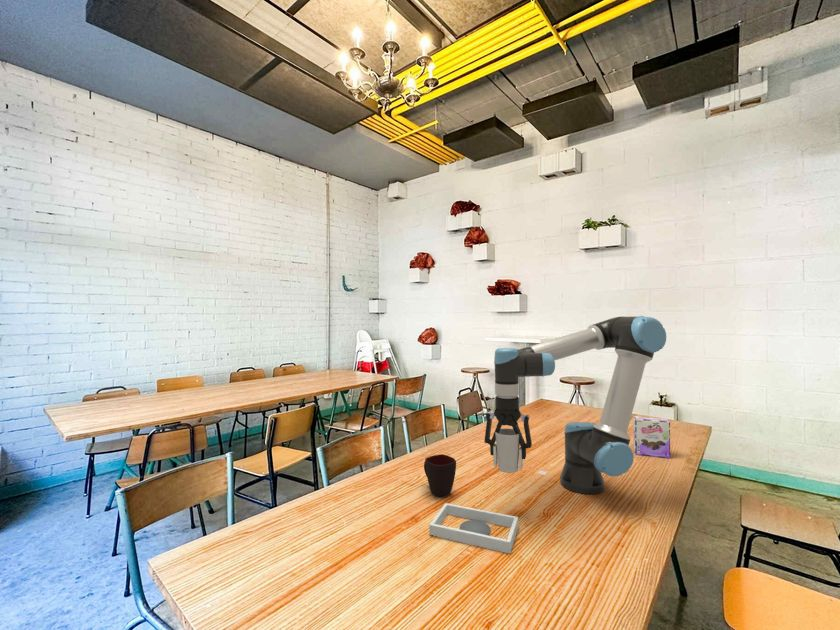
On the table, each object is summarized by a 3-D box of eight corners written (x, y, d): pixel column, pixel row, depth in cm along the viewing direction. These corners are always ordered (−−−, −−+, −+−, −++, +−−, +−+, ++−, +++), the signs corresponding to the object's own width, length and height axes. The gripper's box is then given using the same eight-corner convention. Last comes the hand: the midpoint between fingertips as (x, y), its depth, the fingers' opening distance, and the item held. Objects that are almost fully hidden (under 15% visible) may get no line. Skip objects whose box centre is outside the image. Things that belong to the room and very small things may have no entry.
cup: (521, 474, 120) (521, 436, 120) (495, 473, 121) (494, 435, 121) (520, 465, 127) (519, 428, 128) (495, 463, 129) (495, 427, 129)
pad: (493, 525, 116) (493, 523, 116) (486, 541, 108) (486, 539, 108) (464, 519, 120) (464, 517, 120) (455, 534, 111) (455, 532, 111)
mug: (437, 502, 130) (437, 467, 131) (415, 487, 142) (415, 455, 142) (460, 495, 136) (460, 461, 136) (437, 481, 148) (436, 450, 148)
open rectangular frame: (518, 527, 115) (518, 517, 115) (510, 553, 102) (510, 542, 102) (445, 512, 124) (445, 503, 124) (429, 535, 111) (429, 524, 111)
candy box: (635, 454, 174) (634, 418, 175) (633, 450, 180) (632, 415, 180) (670, 459, 169) (670, 421, 169) (667, 454, 175) (667, 418, 175)
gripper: (540, 395, 124) (542, 466, 124) (479, 391, 132) (480, 458, 132) (538, 400, 117) (539, 476, 117) (473, 396, 125) (474, 466, 125)
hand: (508, 466), depth 124 cm, fingers closed on cup, 7 cm apart
